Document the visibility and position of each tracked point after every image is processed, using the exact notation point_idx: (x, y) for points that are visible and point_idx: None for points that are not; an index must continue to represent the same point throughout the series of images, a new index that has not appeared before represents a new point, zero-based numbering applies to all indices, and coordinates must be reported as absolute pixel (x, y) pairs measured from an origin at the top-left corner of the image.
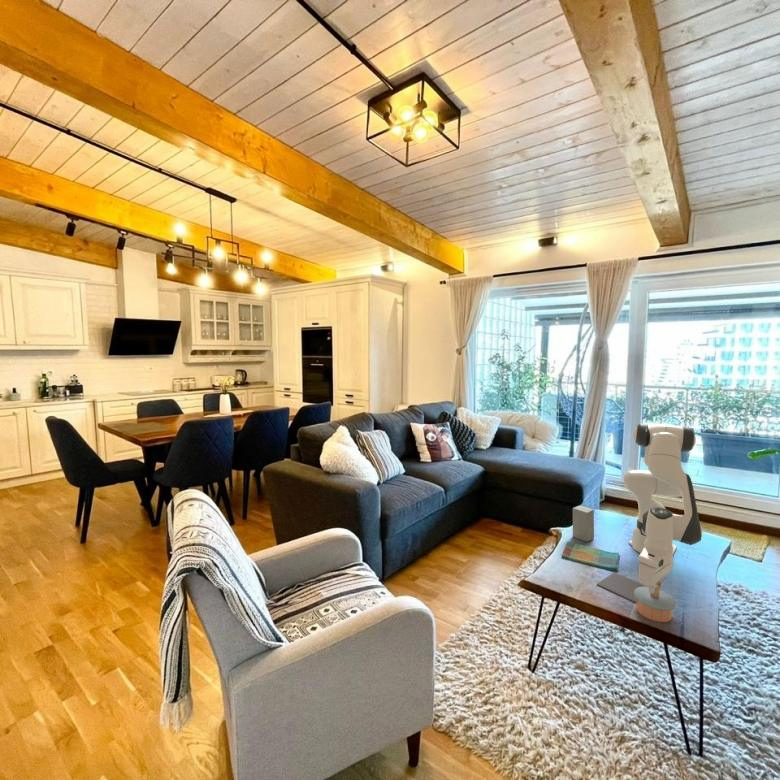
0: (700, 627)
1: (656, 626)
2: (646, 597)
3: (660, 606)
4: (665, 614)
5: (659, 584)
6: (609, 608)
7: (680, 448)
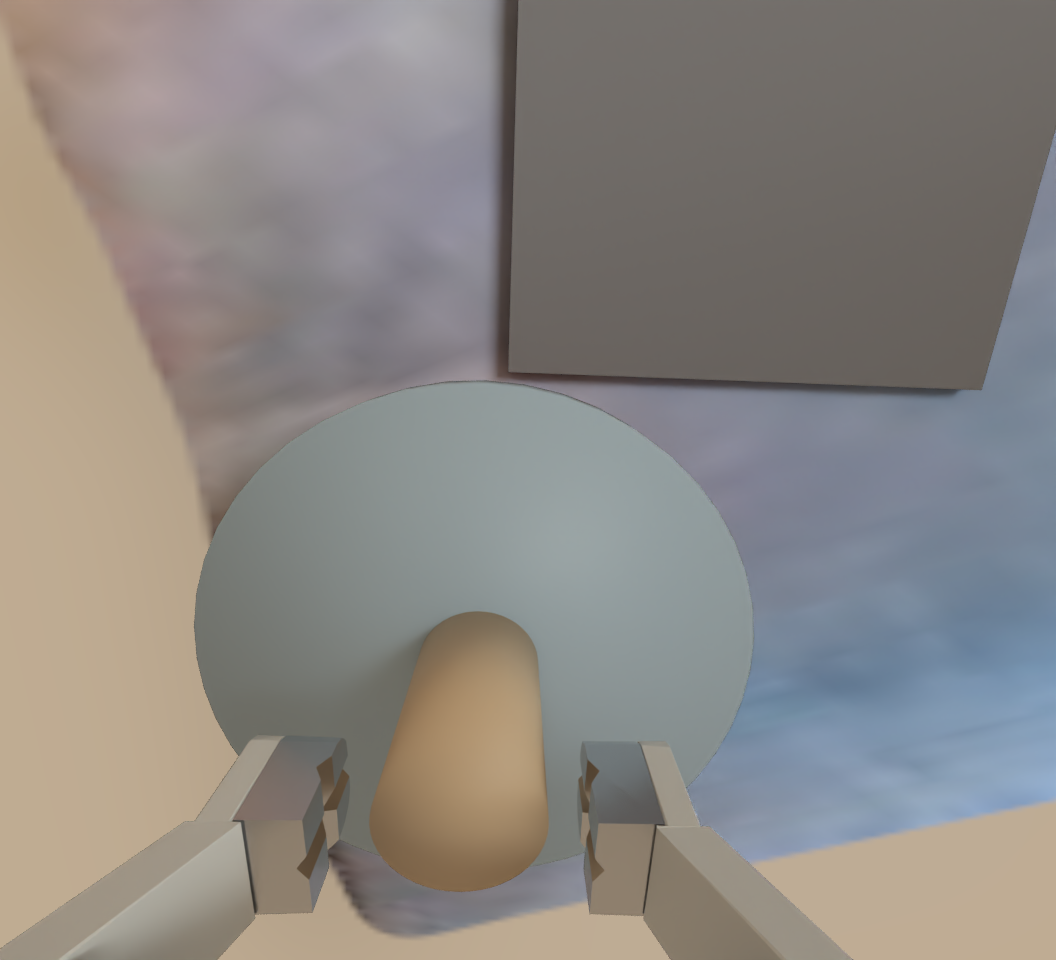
0: None
1: None
2: (347, 602)
3: None
4: None
5: (587, 876)
6: (114, 208)
7: None
